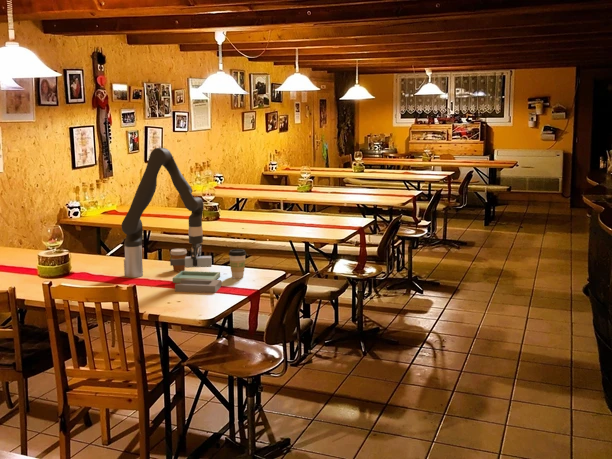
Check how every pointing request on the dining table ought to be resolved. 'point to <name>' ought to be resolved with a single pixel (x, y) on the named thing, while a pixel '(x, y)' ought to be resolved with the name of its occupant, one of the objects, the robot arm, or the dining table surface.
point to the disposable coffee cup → (178, 255)
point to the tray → (196, 276)
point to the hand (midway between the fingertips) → (196, 264)
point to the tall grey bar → (188, 262)
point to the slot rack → (198, 285)
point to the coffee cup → (237, 262)
